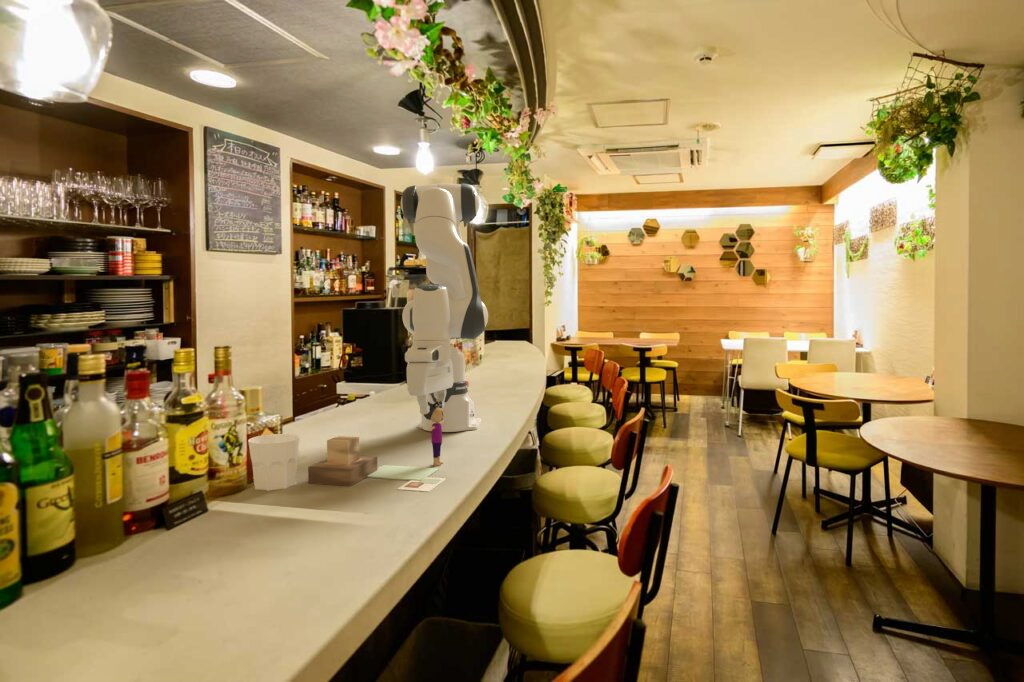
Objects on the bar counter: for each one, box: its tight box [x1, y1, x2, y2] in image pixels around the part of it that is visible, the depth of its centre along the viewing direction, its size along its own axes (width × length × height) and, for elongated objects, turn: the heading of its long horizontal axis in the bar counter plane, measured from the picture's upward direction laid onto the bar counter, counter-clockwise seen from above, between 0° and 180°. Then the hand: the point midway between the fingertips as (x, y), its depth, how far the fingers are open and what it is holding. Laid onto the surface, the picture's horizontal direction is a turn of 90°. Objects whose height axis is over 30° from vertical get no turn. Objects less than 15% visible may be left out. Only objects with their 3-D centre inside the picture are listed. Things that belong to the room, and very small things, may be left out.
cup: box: [247, 433, 301, 492], centre depth 128 cm, size 10×10×10 cm
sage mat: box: [367, 464, 440, 481], centre depth 137 cm, size 10×14×1 cm
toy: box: [424, 402, 444, 467], centre depth 145 cm, size 10×6×15 cm, turn 168°
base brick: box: [307, 455, 378, 487], centre depth 134 cm, size 12×10×4 cm
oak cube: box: [326, 435, 360, 464], centre depth 134 cm, size 5×5×5 cm
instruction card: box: [397, 476, 447, 493], centre depth 129 cm, size 10×7×1 cm
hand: (432, 410), depth 144 cm, fingers open, 8 cm apart
